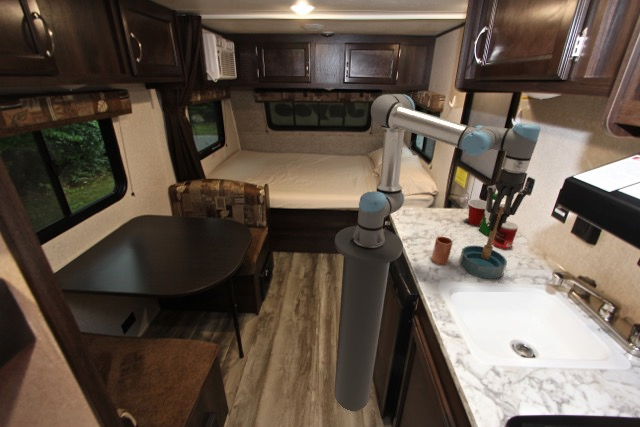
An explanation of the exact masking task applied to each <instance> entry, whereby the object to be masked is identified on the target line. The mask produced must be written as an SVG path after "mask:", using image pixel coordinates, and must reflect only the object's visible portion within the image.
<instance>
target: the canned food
mask: <svg viewBox="0 0 640 427" xmlns="http://www.w3.org/2000/svg"><path fill="white" fill-rule="evenodd" d="M518 228H519V226H518V225H517V224H516V223H514V222H511V221H508V220H506V223H505V224H504V223H503V224H502V227H501V230H500V232H497V231H496V234H495V237H494V240H493V243H492V245H493V246H494V247H496V248H498V249H501V250H510V249H511V248H512V246H513V243H514V240H515V237H516V234H517V232H518Z"/></svg>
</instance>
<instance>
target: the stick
mask: <svg viewBox="0 0 640 427" xmlns="http://www.w3.org/2000/svg"><path fill="white" fill-rule="evenodd" d="M503 210H504V207H502V206H499V208H498V211H497V215H498V217H497V220H496V223H495V226H494V229H493V231H491V232H490V235H489V237H488V238H487V241H486V244H484V246H483V247H484V248H483V251H482V254H481V257H482V258H484V259H489V258H490V255H491V252H492V250H494V247H493V240H494V237H495V234H496V231H497V228H498V225H499V222H500V219H501V216H502V213H503Z"/></svg>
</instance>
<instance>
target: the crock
mask: <svg viewBox="0 0 640 427" xmlns="http://www.w3.org/2000/svg"><path fill="white" fill-rule="evenodd" d="M453 243H454V242H453V240H452V239H451V238H449V237H446V236H437V237H436V238H435V241H434V245H433V246H434V247H433V251H432V255H431V260H432V262H433V263H434V264H437V265H440V266H444V265H447V264H448V262H449V259H450V255H451V251H452V247H453Z"/></svg>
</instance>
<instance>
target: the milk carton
mask: <svg viewBox="0 0 640 427" xmlns="http://www.w3.org/2000/svg"><path fill="white" fill-rule="evenodd" d="M493 194H494V195H493V203H492V206H493V204H494V201H495V199H496V197H497V193H493ZM505 201H506V198H505V199H504V198H503V199H502V201H501V204H500V206H502V207H504V206H505ZM496 214H497V213H496ZM502 214H503V213H502ZM489 216H490V213H488V211H487V210H486V209H485V213H484V216H483V219H482V221H481V223H480V225H479V228H478V231H479V232H481V233H482V234H484V235H485V236H487V237H488V238H489V235H490V232H491V231H490V229H489V225H490V221H489Z"/></svg>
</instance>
